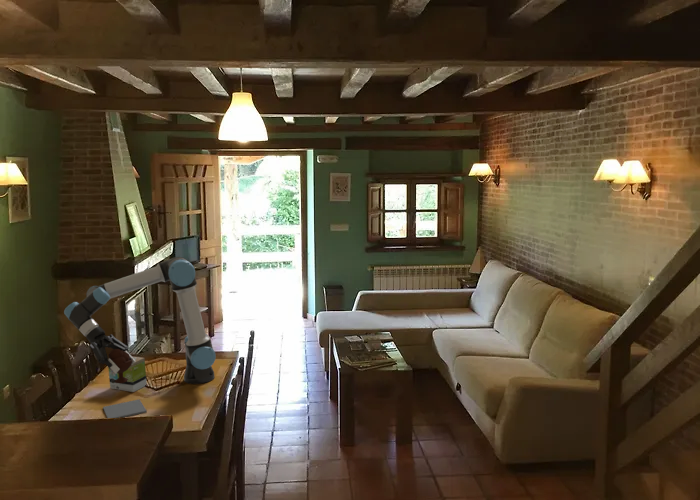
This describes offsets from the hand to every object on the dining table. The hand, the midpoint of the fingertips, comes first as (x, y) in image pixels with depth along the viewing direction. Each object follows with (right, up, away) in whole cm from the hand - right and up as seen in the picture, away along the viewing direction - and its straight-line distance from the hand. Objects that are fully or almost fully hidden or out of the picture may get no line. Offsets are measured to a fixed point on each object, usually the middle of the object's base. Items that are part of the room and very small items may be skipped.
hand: (125, 367), depth 274 cm
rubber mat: (-2, -20, +4) cm, 21 cm away
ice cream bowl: (-3, -7, +2) cm, 7 cm away
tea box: (-10, -17, +33) cm, 38 cm away
